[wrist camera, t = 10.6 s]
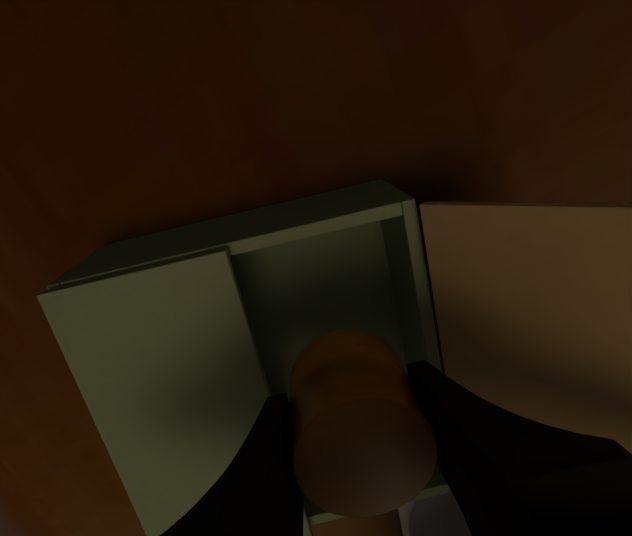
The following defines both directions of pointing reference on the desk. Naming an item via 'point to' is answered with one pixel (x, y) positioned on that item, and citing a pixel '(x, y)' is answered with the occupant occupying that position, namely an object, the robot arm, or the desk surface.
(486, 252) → the sorter lid
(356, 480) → the peg
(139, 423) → the box
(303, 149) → the desk surface
